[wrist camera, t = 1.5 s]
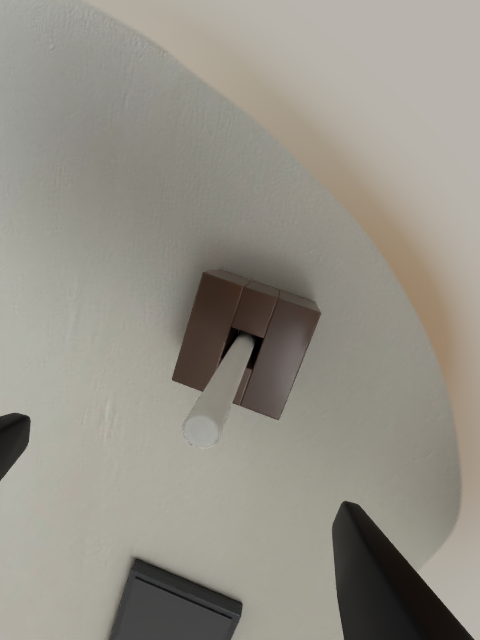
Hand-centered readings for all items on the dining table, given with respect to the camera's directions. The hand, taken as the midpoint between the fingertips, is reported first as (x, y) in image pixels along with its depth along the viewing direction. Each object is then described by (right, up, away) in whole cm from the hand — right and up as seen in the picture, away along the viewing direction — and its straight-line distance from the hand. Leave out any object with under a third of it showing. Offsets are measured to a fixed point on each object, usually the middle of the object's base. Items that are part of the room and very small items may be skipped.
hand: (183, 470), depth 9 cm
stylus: (+2, +3, +14) cm, 14 cm away
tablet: (-5, -24, +20) cm, 32 cm away
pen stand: (+2, +3, +14) cm, 14 cm away
